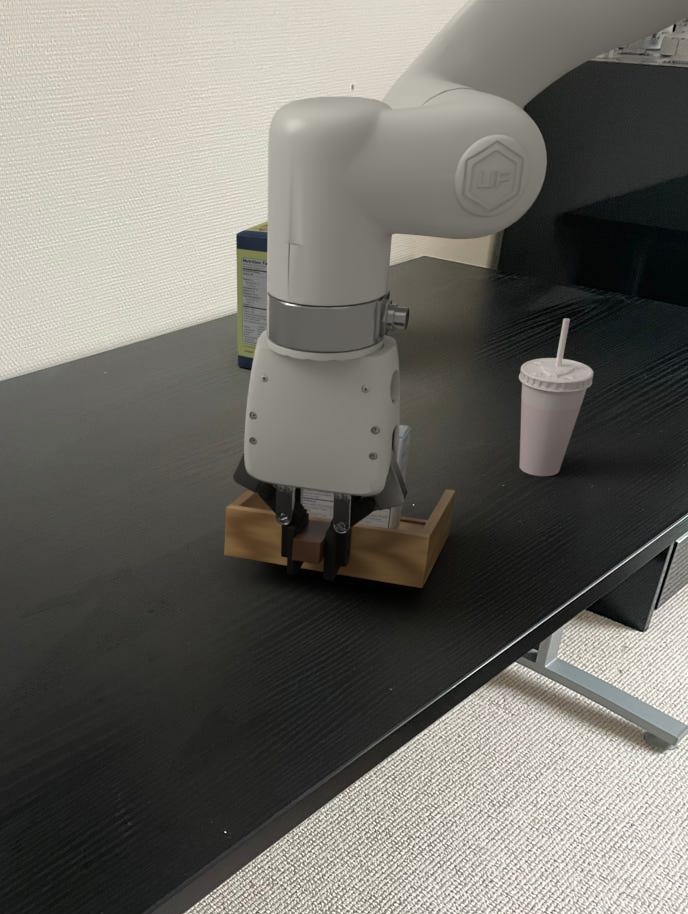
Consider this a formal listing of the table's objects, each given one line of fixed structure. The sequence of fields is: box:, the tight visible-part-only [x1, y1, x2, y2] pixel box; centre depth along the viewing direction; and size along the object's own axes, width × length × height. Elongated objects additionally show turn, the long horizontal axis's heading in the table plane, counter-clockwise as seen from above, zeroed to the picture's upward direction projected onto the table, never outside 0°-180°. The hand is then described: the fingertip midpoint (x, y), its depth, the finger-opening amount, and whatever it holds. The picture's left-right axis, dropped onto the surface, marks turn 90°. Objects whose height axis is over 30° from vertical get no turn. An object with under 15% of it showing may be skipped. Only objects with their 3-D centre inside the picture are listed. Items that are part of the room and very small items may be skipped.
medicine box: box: [302, 424, 412, 529], centre depth 80 cm, size 8×4×9 cm, turn 71°
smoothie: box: [518, 317, 594, 477], centre depth 90 cm, size 6×6×14 cm
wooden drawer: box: [223, 488, 456, 589], centre depth 78 cm, size 16×18×4 cm
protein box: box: [235, 220, 268, 370], centre depth 118 cm, size 10×16×16 cm
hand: (314, 567), depth 73 cm, fingers closed on wooden drawer, 2 cm apart
